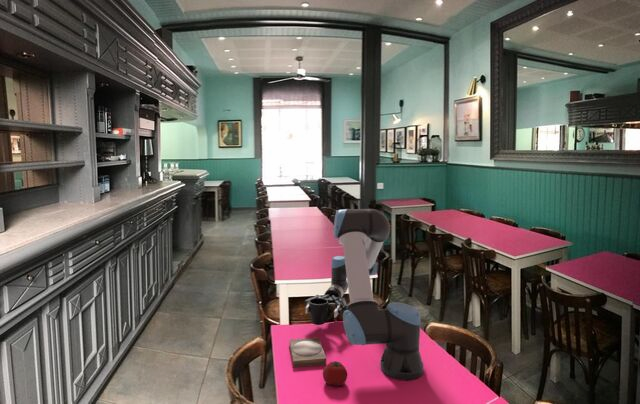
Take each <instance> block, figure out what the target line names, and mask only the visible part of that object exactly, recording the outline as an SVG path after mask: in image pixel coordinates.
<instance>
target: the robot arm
mask: <svg viewBox="0 0 640 404" xmlns="http://www.w3.org/2000/svg"><path fill="white" fill-rule="evenodd" d="M334 215H335V216H334V220H333V237H334V239H335V238H336V239H338V243H339V244H340V245H341V246H342V249H343V256H341V255H336V256H333V257H331V258H332V259H331V279H330V280H331V281H330V283H331V285H330V286H329V288H328V289H327V290H326V291H325V292H324V294H323V295H322V296H320V295H319V294H315V296H312V297H309V298H307V299H306V300H304V307H305V315H306V314H309V313H310V312H309V300H310V299H313V298H324V299H327V300H328V303H336V304H337V308H336V309H335V305H332V306H333V307H334V310H335V311H334V310H333V312H334V314H333V317H334V318H337V316H338V315H339V314H341V313H342V312H343V313H342V321H343V323H342V324H343V329H344V333H345V336H346V338H347V341H348V342H349V343H350V344H351V345H354V346H359V345H361V346H365V345H381V344H383V345H384V344H385V348H384V350H383V353H382V355H381V357H380V361H379V362H380V364H379V365H380V370H381V371H382V372H383V373H384V374H385V375H386V376H388V377H391V378H393V379H396V380H401V381H411V380H416V379H418V378H420V377H421V376H422V375H423V374H424V363H423V359H422V356H421V351H420V337H421V325H422V323H421V313H420V311H419V310H418V309H417V308H416V307H414V306H413V305H411V304H407V303H404V302H398V301H397V302H396V301H394V302H393V301H392V302H389V303H388V304H387V305H386V308H380V306H379V303H378V301H377V300H375V299H374V294H373V290H372V283H371V276H375V275H376V274H377V272H378V270H377V269H378V265H377V259H378V256H379V255H380V254H379V253H380V252H381V248H382V246H383V244H384V242H386V241H387V240H388V238H389V236H390V233H391V224H390V222H389V219H388V218H387V216H386V215H385V214H384V213H383V212H381V211H380V210H378V209H374V208H357V209H354V208H353V209H352V208H351V209H350V208H345V209H337V211H336V212H335V214H334ZM347 290H348V297H349V303H348V304H347V301H346V297H343V296H344V295H345V294H346V293H347Z"/></svg>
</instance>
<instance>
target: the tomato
mask: <svg viewBox="0 0 640 404" xmlns="http://www.w3.org/2000/svg"><path fill="white" fill-rule="evenodd" d="M322 377H323V380H324V382H325V383H326V384H327V385H329V386H336V387H340V386H342V385H344V384H345V383H346V381H347V379H348V371H347V368H346V367H345V366H344V364H342V363H341V362H339V361H336V360H334V361H330V362H329V363H328V364H326V365H325V366H324V368H323V371H322Z"/></svg>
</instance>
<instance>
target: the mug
mask: <svg viewBox="0 0 640 404" xmlns="http://www.w3.org/2000/svg"><path fill="white" fill-rule="evenodd" d="M309 299H310V298H309ZM333 305H335V307H334V310H333V312H332V313H331V315H330V316H329V317H327V316H328V311H329V306H333ZM336 308H337V304H336V303H328V300H327V299H324V298H313V299H310V300H309V312H308V313H309V316H310V319H311V323H312V324H313V325H315V326H322V325H324V324H325V323H327V322H329V321H330V320H331V318H333V317H334V311H335V309H336Z"/></svg>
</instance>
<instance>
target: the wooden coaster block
mask: <svg viewBox="0 0 640 404" xmlns="http://www.w3.org/2000/svg"><path fill="white" fill-rule="evenodd" d="M289 350H290V356H291V361H292V367H293V368H304V367H316V366H324V365H325V366H326V365H327V356H326V354H325V351H324V348H323V346H322V341H321V339H320V337H309V338H296V339H293V338H292V339H289Z"/></svg>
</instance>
